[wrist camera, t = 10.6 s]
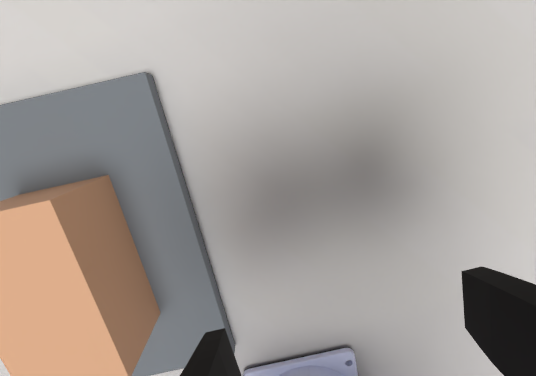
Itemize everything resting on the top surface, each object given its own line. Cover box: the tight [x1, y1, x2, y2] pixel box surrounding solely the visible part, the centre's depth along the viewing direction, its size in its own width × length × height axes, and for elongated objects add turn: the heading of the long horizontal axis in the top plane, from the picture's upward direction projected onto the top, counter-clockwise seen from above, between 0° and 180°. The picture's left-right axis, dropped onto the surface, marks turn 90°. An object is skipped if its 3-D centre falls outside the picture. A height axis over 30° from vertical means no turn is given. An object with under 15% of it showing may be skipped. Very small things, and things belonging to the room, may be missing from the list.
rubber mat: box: [0, 72, 235, 376], centre depth 17 cm, size 18×12×1 cm, turn 12°
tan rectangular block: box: [0, 175, 160, 376], centre depth 14 cm, size 5×9×4 cm, turn 12°
